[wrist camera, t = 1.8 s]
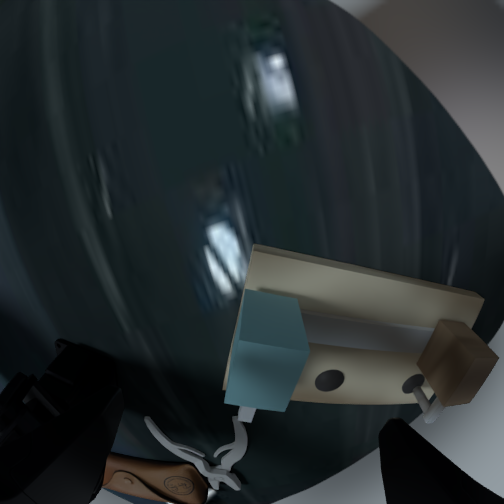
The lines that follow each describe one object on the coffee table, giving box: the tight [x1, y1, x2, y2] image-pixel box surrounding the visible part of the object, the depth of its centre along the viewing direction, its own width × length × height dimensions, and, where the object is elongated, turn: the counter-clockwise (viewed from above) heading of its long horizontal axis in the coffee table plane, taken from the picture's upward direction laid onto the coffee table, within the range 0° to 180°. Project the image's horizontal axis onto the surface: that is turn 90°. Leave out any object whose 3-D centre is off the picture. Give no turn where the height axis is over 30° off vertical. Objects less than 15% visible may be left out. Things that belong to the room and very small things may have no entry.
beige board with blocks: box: [222, 244, 499, 424], centre depth 16 cm, size 11×19×7 cm, turn 78°
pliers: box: [144, 416, 248, 490], centre depth 24 cm, size 10×2×15 cm
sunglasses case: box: [102, 452, 208, 504], centre depth 26 cm, size 18×7×7 cm, turn 98°
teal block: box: [224, 289, 310, 423], centre depth 15 cm, size 7×3×5 cm, turn 168°
